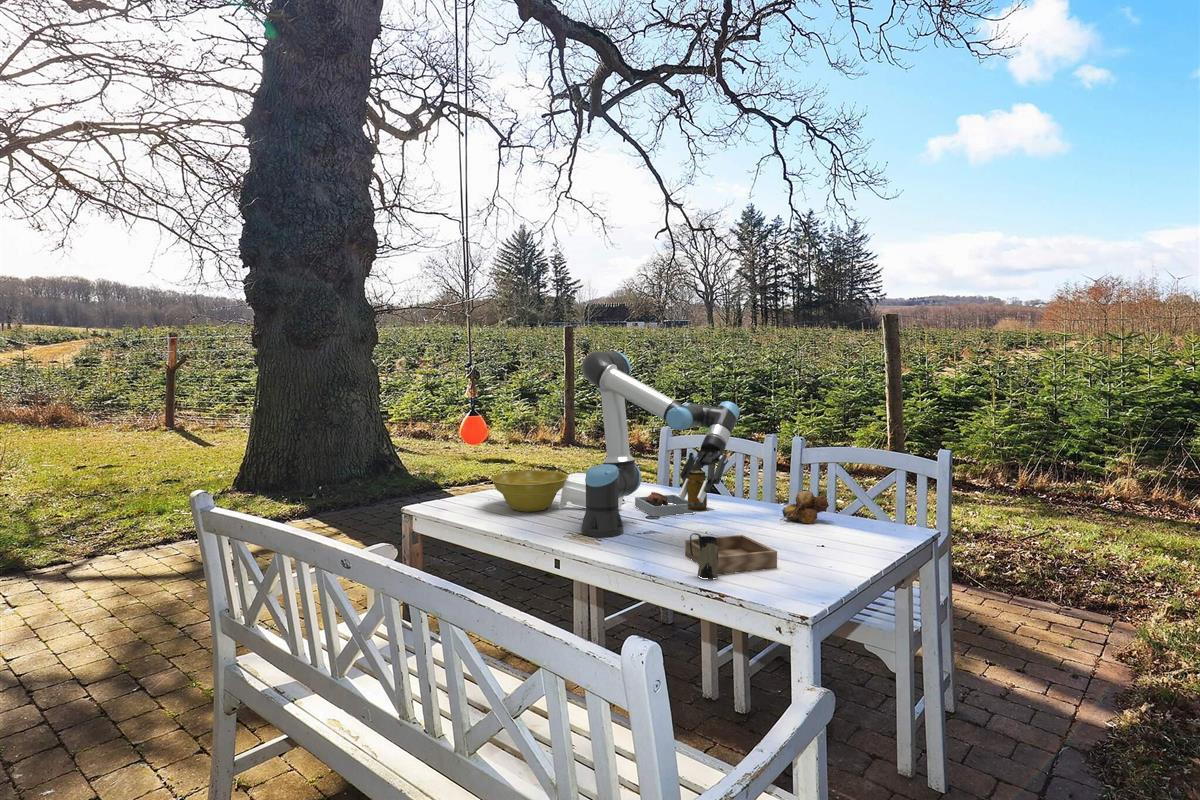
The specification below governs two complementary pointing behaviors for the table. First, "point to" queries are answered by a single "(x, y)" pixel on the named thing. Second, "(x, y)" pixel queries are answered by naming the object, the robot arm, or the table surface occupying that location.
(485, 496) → the table surface
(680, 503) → the slate tray rim
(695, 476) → the condiment
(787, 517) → the seed pod
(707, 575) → the mug
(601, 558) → the table surface
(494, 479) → the planter bowl
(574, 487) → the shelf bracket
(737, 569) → the walnut box
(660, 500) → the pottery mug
